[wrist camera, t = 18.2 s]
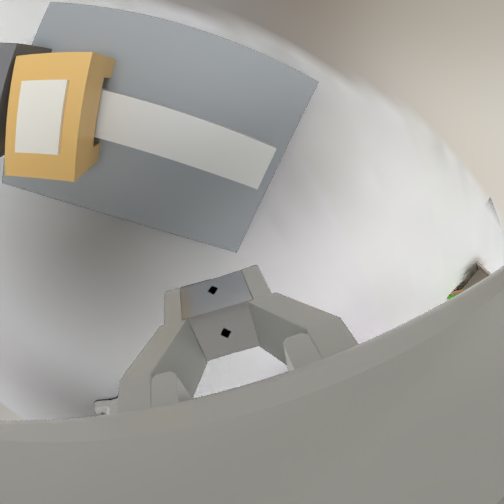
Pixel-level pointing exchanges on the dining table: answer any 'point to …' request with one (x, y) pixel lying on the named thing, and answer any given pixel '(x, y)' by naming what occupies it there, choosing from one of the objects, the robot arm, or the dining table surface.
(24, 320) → the dining table surface
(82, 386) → the dining table surface
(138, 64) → the backplate
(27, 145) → the module
